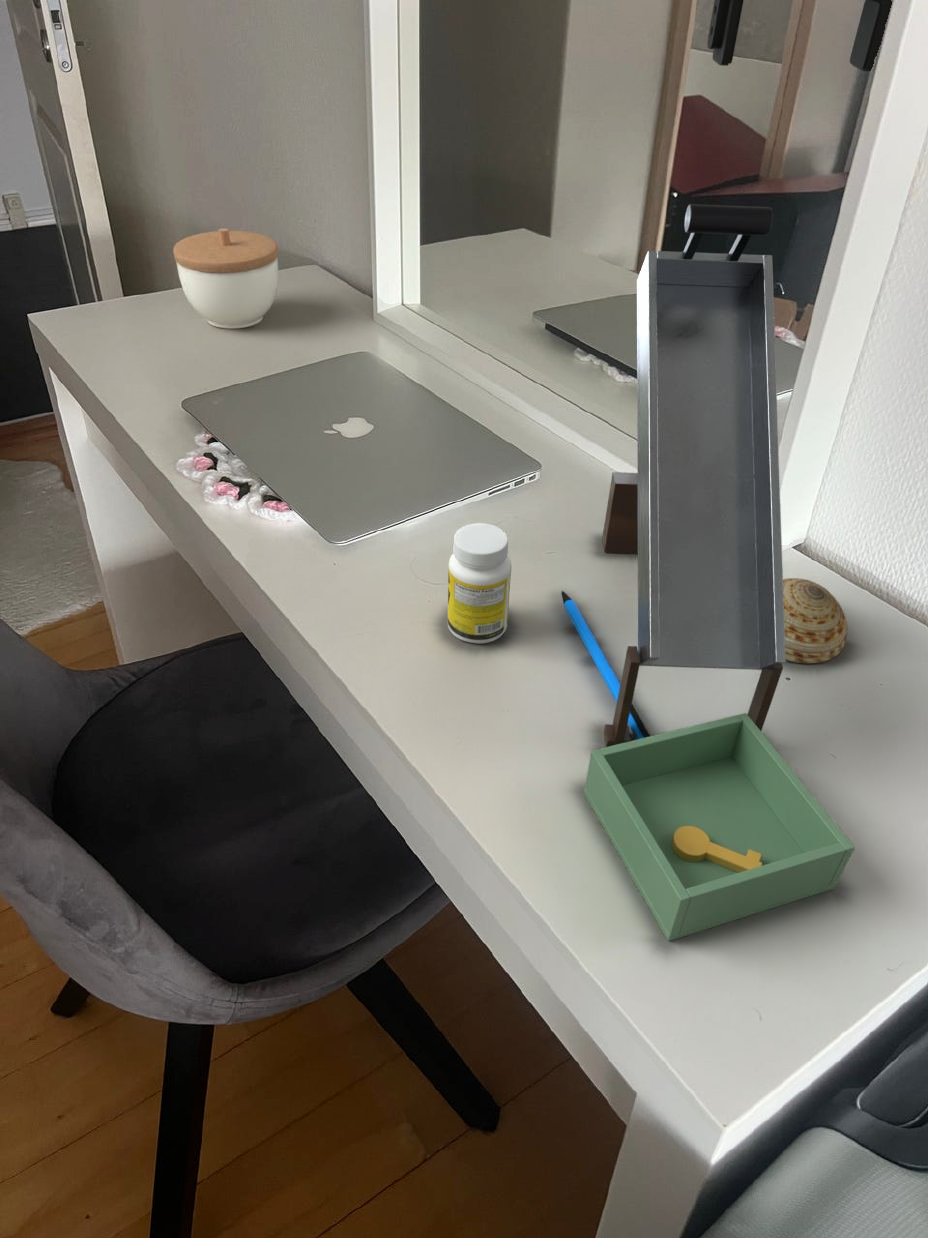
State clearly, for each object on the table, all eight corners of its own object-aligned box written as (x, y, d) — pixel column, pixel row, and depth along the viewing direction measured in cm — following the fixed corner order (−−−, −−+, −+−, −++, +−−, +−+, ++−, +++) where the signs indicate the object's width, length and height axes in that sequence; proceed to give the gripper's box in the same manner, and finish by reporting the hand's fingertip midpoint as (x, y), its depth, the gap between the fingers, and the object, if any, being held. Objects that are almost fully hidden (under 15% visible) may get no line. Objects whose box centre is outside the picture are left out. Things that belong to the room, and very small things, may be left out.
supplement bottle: (462, 600, 74) (466, 513, 69) (516, 617, 73) (524, 529, 67) (436, 634, 71) (438, 545, 65) (492, 653, 69) (498, 563, 64)
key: (679, 820, 56) (677, 827, 57) (669, 846, 55) (667, 853, 55) (765, 854, 54) (762, 861, 55) (757, 882, 53) (754, 889, 53)
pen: (649, 768, 61) (652, 757, 60) (556, 596, 75) (557, 585, 74) (662, 766, 61) (664, 754, 60) (566, 594, 75) (567, 583, 74)
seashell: (801, 561, 76) (870, 582, 69) (800, 625, 78) (867, 653, 71) (716, 578, 74) (778, 601, 67) (717, 643, 76) (777, 673, 68)
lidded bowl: (206, 344, 112) (192, 252, 105) (170, 310, 120) (155, 222, 113) (300, 325, 117) (293, 236, 110) (260, 294, 125) (251, 209, 118)
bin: (732, 753, 62) (746, 712, 60) (834, 888, 54) (855, 847, 52) (583, 792, 59) (590, 750, 57) (668, 941, 51) (681, 900, 48)
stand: (576, 539, 82) (586, 460, 77) (694, 543, 82) (712, 464, 77) (606, 749, 62) (622, 662, 57) (761, 754, 62) (791, 667, 57)
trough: (636, 273, 63) (664, 197, 55) (754, 278, 63) (799, 202, 55) (637, 665, 58) (668, 645, 50) (765, 670, 58) (817, 650, 50)
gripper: (991, -268, 55) (896, 61, 66) (705, -281, 55) (657, 51, 66) (1051, -285, 49) (936, 80, 60) (731, -299, 49) (674, 69, 60)
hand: (790, 65), depth 63 cm, fingers open, 9 cm apart
